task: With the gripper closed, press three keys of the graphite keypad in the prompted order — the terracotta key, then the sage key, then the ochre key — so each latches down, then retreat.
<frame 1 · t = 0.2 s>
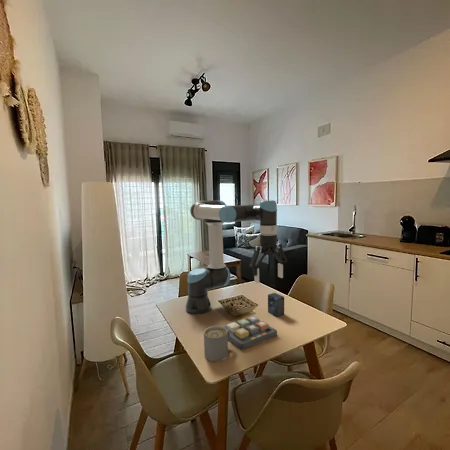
hand: (268, 279, 120), 27 cm above the table, fingers open, 13 cm apart
key sage: (243, 323, 127), point 4 cm above the table, slide at 0.0 cm
key ochre: (241, 332, 118), point 4 cm above the table, slide at 0.0 cm
box: (276, 313, 147), on the table
key terracotta: (262, 325, 125), point 4 cm above the table, slide at 0.0 cm
key cream: (233, 326, 124), point 4 cm above the table, slide at 0.0 cm
keypad board: (247, 334, 125), on the table
coffee mug: (219, 352, 111), on the table
key charcoal: (252, 329, 122), point 4 cm above the table, slide at 0.0 cm
key slate: (252, 320, 131), point 4 cm above the table, slide at 0.0 cm
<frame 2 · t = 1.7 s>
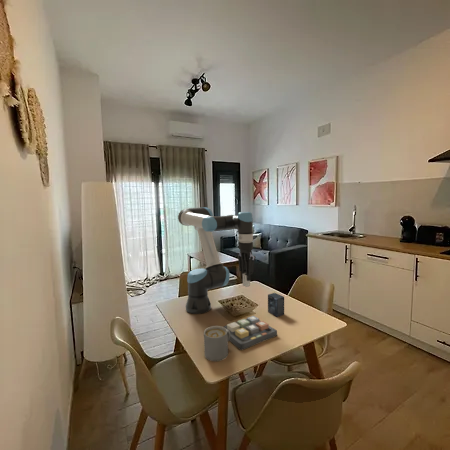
hand: (246, 285, 137), 19 cm above the table, fingers closed
nothing on the table moved.
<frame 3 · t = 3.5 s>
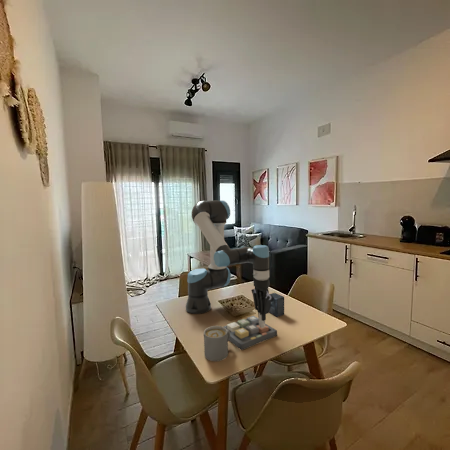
hand: (262, 325, 125), 4 cm above the table, fingers closed
key terracotta: (262, 328, 125), point 3 cm above the table, slide at 1.5 cm, touching gripper
everything else where it was.
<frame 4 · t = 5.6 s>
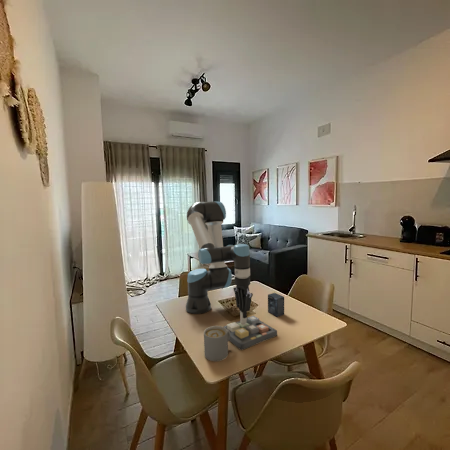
hand: (243, 323, 127), 4 cm above the table, fingers closed
key sage: (243, 325, 128), point 3 cm above the table, slide at 1.2 cm
key terracotta: (262, 328, 125), point 3 cm above the table, slide at 1.6 cm
everything else where it was.
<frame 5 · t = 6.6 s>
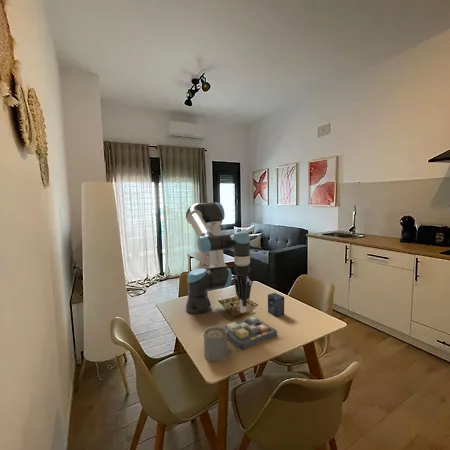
hand: (243, 311, 126), 10 cm above the table, fingers closed
key sage: (243, 326, 128), point 3 cm above the table, slide at 1.6 cm
everything else where it was.
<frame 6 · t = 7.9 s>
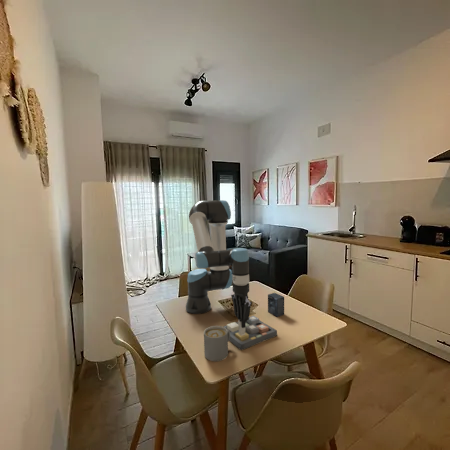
hand: (242, 333, 118), 4 cm above the table, fingers closed
key ochre: (242, 335, 118), point 3 cm above the table, slide at 1.5 cm, touching gripper
everything else where it was.
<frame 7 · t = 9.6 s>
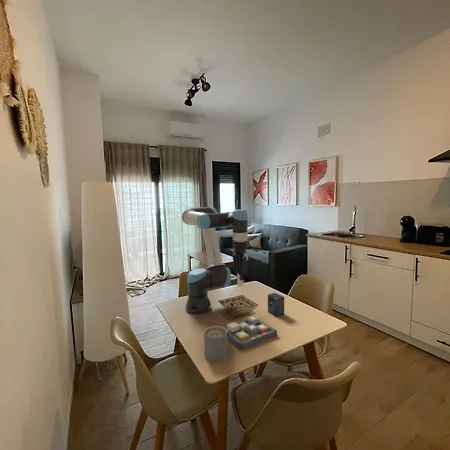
hand: (240, 285, 133), 21 cm above the table, fingers closed
key ochre: (242, 336, 119), point 3 cm above the table, slide at 1.6 cm
everything else where it was.
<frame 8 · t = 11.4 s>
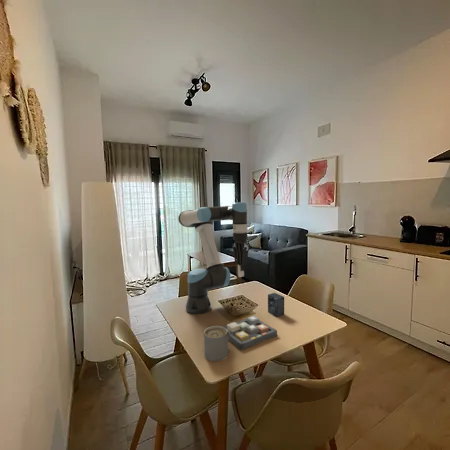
hand: (241, 276, 137), 24 cm above the table, fingers closed
nothing on the table moved.
at the end: key terracotta slide at 1.6 cm; key sage slide at 1.6 cm; key ochre slide at 1.6 cm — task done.
